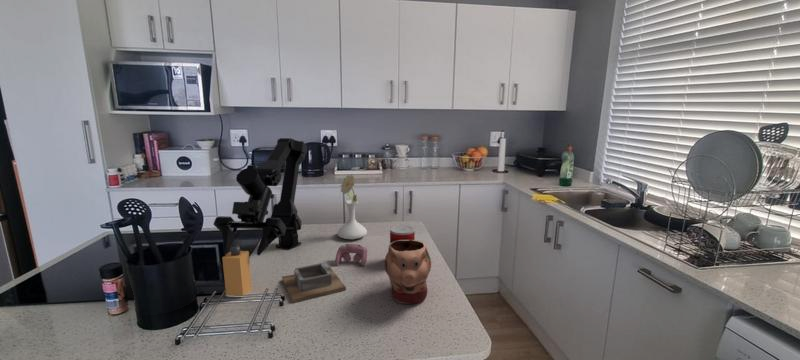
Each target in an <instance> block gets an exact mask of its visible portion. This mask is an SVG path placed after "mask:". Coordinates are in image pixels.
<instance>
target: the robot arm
mask: <svg viewBox="0 0 800 360" xmlns="http://www.w3.org/2000/svg"><path fill="white" fill-rule="evenodd" d="M307 153H308V145H307V144H306V143H305V141H303V140H301V141H300V140H296V139H294V138H292V137H291V138H290V137H286V138H285V137H284V138H283V137H280V138H278V139H277V143H276V145H275V146H274V149H273V150H272V151H271V153H270V155H269V156H268V158H267V159H266V161H264V162H262V163H259V164H258V165H257V166H256V165H253V164H252V165H250V164H249V165H247V166H246V168H243V169H242V170H240V172H238V173H237V175H236V177H235V179H236V182H237V184H238V185H239V186H240V187H241V188H242V190H243V192H244V193H245V194H246V195H248V196H249V197H248V200H247V201H233V205H232V211H231V214H232V215H237V219H239V221H236V220H235V219H233V217H232V216H227V215H226V216H223V215H222V216H220V215H219V216H216V217H215V218H214V222H213V226H214V227H215V228H216V229H217V230H219V231H220V232H221V234H222V244H223V245H222V247H223V248H222V250H223V254H224V255H227V254H228V253H229V252H230V250H231V247H232V246H233V245H232V244H233V243H234V240H235V238H236V235H237V234H236V232H237V231H238V229H241V230H242V229H246V230H262V236H261V238H260V241H259V243H258V247H257V251H256V255H257V256H261V254H263V252H264V251H265V250H266V249H267V248H268V247H269V245H270V244H271V243H273V242H274V241H275V240H276V239H278V243H277V244H275V247H277V248H281V249H285V250H290V249H293V248H295V247H297V246H299V245H302V242H301V241H299V234H298V231H300V230H302V220H301V218H300V217H299V215H298V209H297V207H296V205H295V199H296V197H295V196H296V190H297V184H298V178H299V170H300V165H301V164H302V163H303V162H304V161H305V158H306V155H307ZM284 164H285V165H284ZM283 165H284V173H283V177H282V172H281V169H282V168H283ZM282 178H283V179H282ZM281 180H282V185H281V186H282V187H281V192H280V199H279V202H278V203H275V204H274V205H273V207H272V213H271V216H270V217H267V218H266V217H265V216H268V215H269V211H268V207H269V204H270V201H271V199H274V193H273V191H272V189H271V188H270V187H277V186H279V184H280V183H281ZM265 218H266V219H265ZM264 220H265V221H264Z"/></svg>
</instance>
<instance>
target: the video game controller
mask: <svg viewBox="0 0 800 360" xmlns="http://www.w3.org/2000/svg"><path fill="white" fill-rule="evenodd" d="M351 254H354V255H353V258H352V256H351ZM367 256H368V249H367V248H366V247H365V246H363V245H361V244H358V243H347V244H342V245H341V246H339V247H338V249H337V251H336V255H335V260H334V261H335V266H339V264H340V263H341V261H342V259H343V260H344V262H347V263H348V262H351V260H353V261H354V262H355V263H359V262H360V261H361V266H362V267H365V265H366V263H367Z"/></svg>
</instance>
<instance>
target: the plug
mask: <svg viewBox="0 0 800 360" xmlns="http://www.w3.org/2000/svg"><path fill="white" fill-rule="evenodd" d="M249 252H250V251H248V250H241V247H240V245H231V247H230V251H228V253H227V254H224V256H222V267H223V269H222V270H223V279H224V286H225V287H224V288H225V296H226V295H235V296H243V295H246V294H247V295H248V294H249V293H251V291H252V289H253V286H252V274H251V262H250V253H249ZM247 295H246V296H247Z"/></svg>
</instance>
